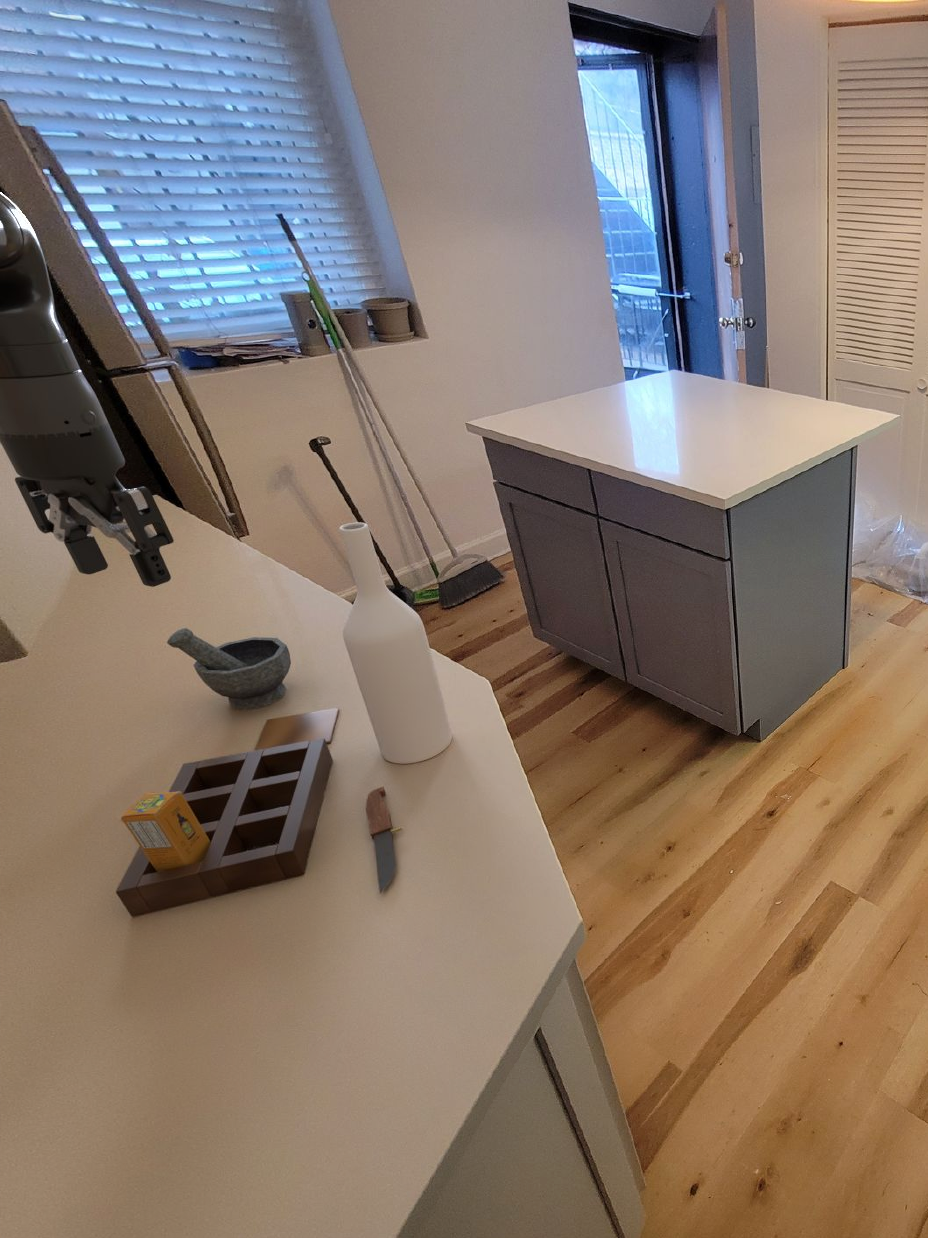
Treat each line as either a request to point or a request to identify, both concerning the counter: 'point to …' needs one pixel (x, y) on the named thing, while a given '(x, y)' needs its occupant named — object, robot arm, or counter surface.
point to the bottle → (392, 661)
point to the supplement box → (167, 830)
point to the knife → (381, 836)
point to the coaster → (298, 728)
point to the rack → (239, 825)
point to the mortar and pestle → (239, 667)
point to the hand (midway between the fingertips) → (126, 577)
